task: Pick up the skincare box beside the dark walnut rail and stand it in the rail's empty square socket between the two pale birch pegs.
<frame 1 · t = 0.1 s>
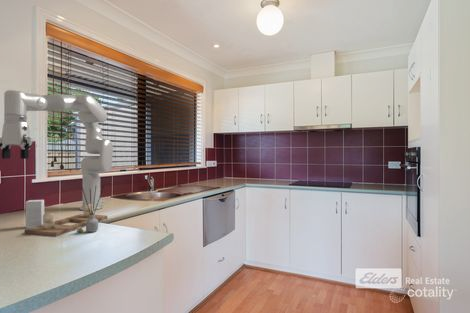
hand: (15, 158, 116), 31 cm above the worktop, tool pointing down, fingers open, 9 cm apart
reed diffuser: (90, 232, 113), on the worktop
skincare box: (35, 227, 120), on the worktop
walnut rail: (70, 225, 123), on the worktop
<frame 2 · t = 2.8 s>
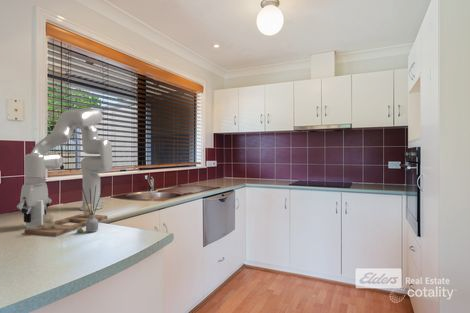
hand: (35, 219, 120), 3 cm above the worktop, tool pointing down, fingers closed on skincare box, 6 cm apart
skincare box: (35, 227, 120), on the worktop, touching gripper
everything else where it was.
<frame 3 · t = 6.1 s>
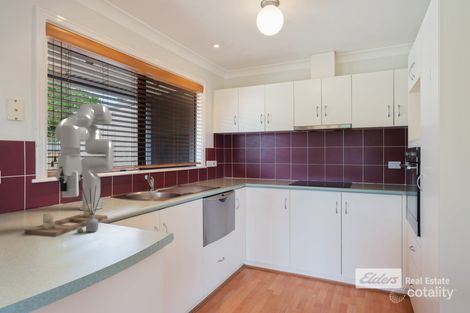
hand: (70, 189, 123), 16 cm above the worktop, tool pointing down, fingers closed on skincare box, 6 cm apart
skincare box: (70, 197, 123), point 13 cm above the worktop, touching gripper
everything else where it was.
when the fingers open (3 cm above the worktop, at t = 9.7 s): skincare box stays where it is, resting in walnut rail.
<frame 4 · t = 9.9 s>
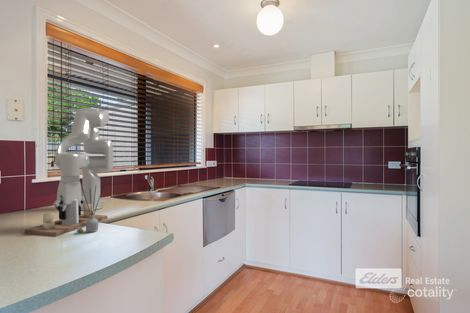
hand: (70, 217, 123), 4 cm above the worktop, tool pointing down, fingers open, 8 cm apart
skincare box: (70, 225, 123), resting in walnut rail
everything else where it was.
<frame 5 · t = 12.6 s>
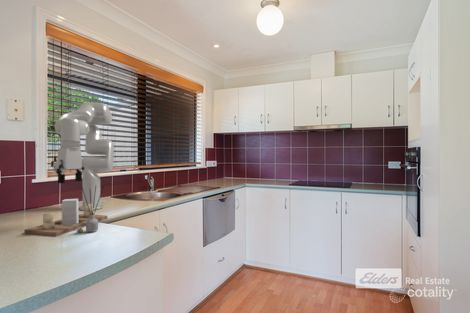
hand: (70, 182, 123), 20 cm above the worktop, tool pointing down, fingers open, 9 cm apart
nothing on the worktop moved.
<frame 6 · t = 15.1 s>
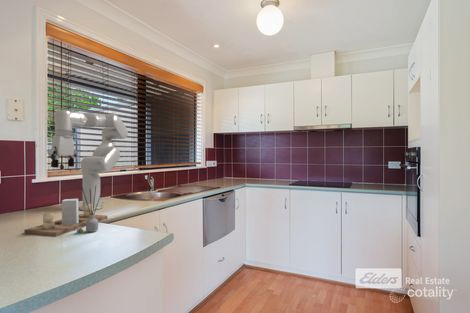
hand: (63, 166, 138), 26 cm above the worktop, tool pointing down, fingers open, 9 cm apart
nothing on the worktop moved.
at the end: skincare box 0.1 cm off-centre on the walnut rail, point 0.0 cm above the walnut rail's base; skincare box tilted 0°; the gripper is holding nothing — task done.
